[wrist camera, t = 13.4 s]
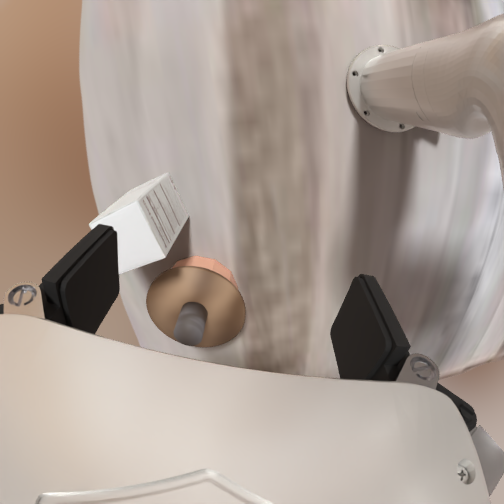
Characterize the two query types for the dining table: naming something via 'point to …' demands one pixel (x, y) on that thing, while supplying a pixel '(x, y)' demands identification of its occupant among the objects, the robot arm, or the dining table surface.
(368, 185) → the dining table surface
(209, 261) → the bowl
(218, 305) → the lid
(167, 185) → the supplement box
